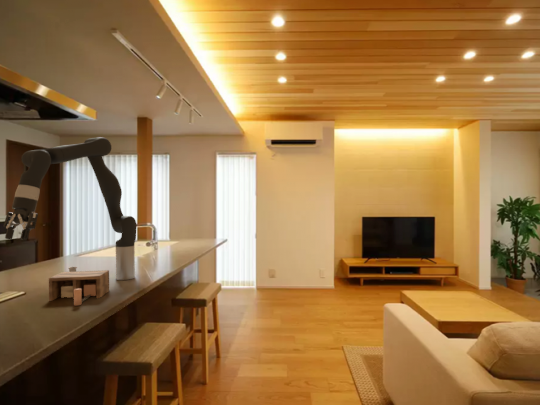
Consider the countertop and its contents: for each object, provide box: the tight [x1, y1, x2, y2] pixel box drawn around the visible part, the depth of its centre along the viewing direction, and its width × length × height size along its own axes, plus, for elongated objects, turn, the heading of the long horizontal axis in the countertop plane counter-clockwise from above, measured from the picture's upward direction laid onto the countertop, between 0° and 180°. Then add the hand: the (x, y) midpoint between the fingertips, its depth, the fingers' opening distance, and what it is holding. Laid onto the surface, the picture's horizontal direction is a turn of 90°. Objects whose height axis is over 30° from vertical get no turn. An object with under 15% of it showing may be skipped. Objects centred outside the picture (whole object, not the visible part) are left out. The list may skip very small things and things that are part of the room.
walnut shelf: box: [48, 269, 110, 302], centre depth 142 cm, size 12×20×9 cm, turn 99°
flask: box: [68, 266, 78, 272], centre depth 155 cm, size 7×7×10 cm
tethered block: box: [73, 282, 97, 307], centre depth 136 cm, size 18×5×6 cm, turn 9°
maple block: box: [60, 284, 73, 299], centre depth 142 cm, size 5×5×5 cm
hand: (15, 239), depth 124 cm, fingers open, 8 cm apart
